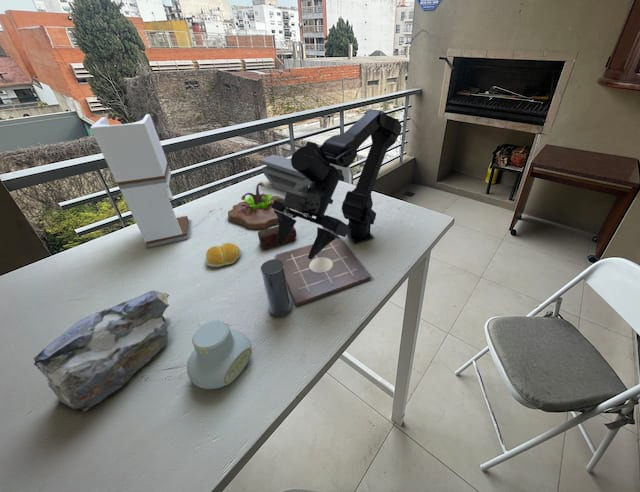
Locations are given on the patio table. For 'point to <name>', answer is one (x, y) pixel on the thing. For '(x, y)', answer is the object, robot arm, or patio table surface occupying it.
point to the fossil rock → (104, 350)
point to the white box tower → (142, 177)
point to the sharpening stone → (283, 174)
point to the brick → (273, 237)
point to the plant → (255, 210)
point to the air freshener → (217, 355)
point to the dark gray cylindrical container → (276, 287)
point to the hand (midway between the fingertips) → (293, 251)
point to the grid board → (321, 271)
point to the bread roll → (222, 255)
